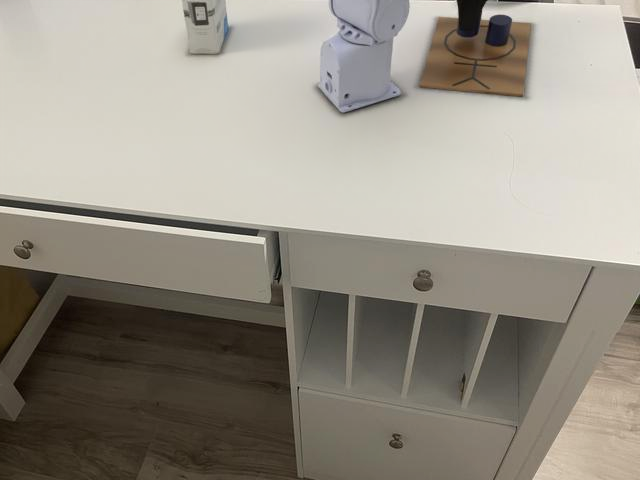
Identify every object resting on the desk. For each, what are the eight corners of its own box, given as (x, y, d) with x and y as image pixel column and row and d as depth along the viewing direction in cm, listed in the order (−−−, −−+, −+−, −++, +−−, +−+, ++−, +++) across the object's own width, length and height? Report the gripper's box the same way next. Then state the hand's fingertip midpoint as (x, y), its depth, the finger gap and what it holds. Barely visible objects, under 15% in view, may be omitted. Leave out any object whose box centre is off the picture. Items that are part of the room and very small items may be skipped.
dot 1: (464, 39, 100) (468, 17, 97) (452, 30, 102) (455, 8, 99) (482, 34, 100) (486, 12, 98) (470, 25, 102) (474, 3, 100)
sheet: (522, 96, 92) (523, 93, 91) (419, 87, 95) (419, 84, 95) (530, 25, 103) (531, 22, 103) (438, 19, 107) (438, 16, 107)
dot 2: (493, 48, 99) (498, 27, 97) (480, 39, 101) (485, 17, 99) (511, 43, 100) (516, 21, 97) (498, 33, 102) (503, 12, 99)
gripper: (512, -50, 84) (491, 50, 95) (519, -94, 93) (499, 2, 103) (454, -52, 86) (440, 46, 97) (467, -95, 95) (452, -1, 105)
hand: (467, 23), depth 100 cm, fingers closed on dot 1, 3 cm apart
